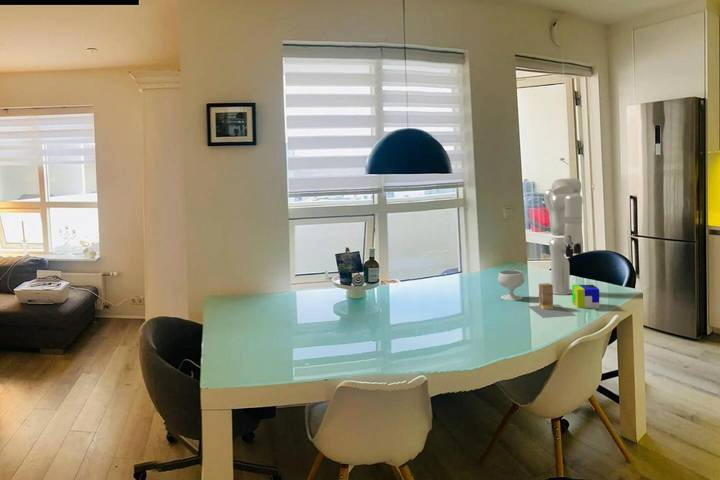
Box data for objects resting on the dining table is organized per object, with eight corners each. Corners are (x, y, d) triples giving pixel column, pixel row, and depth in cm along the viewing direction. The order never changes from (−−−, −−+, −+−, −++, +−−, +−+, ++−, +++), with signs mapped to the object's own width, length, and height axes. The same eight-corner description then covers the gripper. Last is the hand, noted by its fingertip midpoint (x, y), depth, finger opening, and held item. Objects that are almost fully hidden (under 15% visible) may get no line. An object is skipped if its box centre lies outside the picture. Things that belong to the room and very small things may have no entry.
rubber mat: (527, 307, 231) (527, 306, 231) (558, 305, 231) (558, 304, 231) (542, 319, 211) (542, 317, 211) (576, 316, 211) (576, 315, 211)
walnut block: (539, 306, 229) (538, 283, 228) (548, 305, 229) (548, 283, 228) (543, 309, 225) (542, 285, 223) (553, 308, 224) (552, 285, 223)
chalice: (530, 298, 248) (529, 271, 246) (514, 303, 240) (513, 276, 239) (508, 294, 260) (508, 268, 258) (493, 298, 252) (492, 272, 250)
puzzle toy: (599, 309, 221) (599, 289, 220) (577, 309, 223) (577, 289, 222) (593, 303, 231) (592, 284, 229) (572, 303, 233) (572, 285, 231)
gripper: (572, 218, 224) (572, 252, 226) (558, 222, 212) (558, 257, 215) (588, 218, 219) (588, 253, 221) (574, 223, 207) (574, 259, 209)
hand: (573, 255), depth 218 cm, fingers open, 9 cm apart
